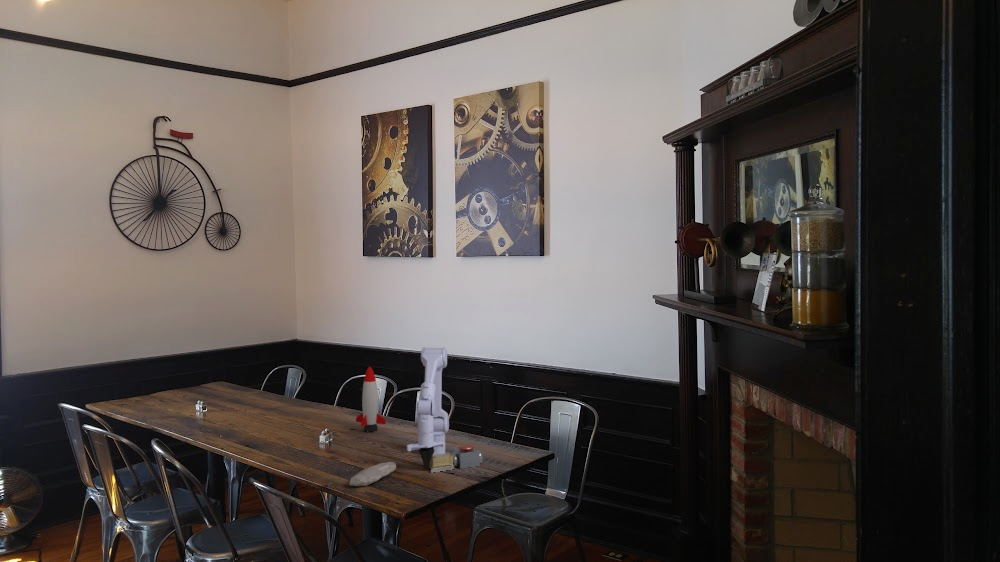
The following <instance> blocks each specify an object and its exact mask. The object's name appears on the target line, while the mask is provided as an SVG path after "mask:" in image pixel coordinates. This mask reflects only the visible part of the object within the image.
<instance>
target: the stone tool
mask: <svg viewBox="0 0 1000 562" xmlns="http://www.w3.org/2000/svg"><path fill="white" fill-rule="evenodd" d="M396 469H397V464H396V462H394V461H388V462H380V463H378V464H376V465H372V466H370V467H366V468H365V469H362V470H360V471H359V472H358V473H356V474H355V475H353V476H351V478H350V481H349V483H348V485H349V486H352V487H365V486H369V485H371V484H373V483H376V482H377V481H379V480H381V479H382V478H384V477H386V476H388V475H389V474H392V473H393V472H394V471H395V470H396Z"/></svg>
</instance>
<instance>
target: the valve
mask: <svg viewBox="0 0 1000 562" xmlns="http://www.w3.org/2000/svg"><path fill="white" fill-rule="evenodd" d="M450 454H451V453H450ZM451 455H452V456H453V466H446V467H439V468H432V469H431V470H430V474H434V473H433V472H436V473H441V472H440V471H443V472H447V471H446V470H451V471H453V470H452V469H454V470H455V467H457V466H458V467H459V468H458V467H457V468H458V469H460V470H462V469H461V468H465V469H469V468H468V467H472V468H476V467H475V466H479V467H480V466H481V464H482V463H483V461H484V455H483V452H482V450H479V449H478V448H476V447H475V445H473V444H471V443H469V444H468V443H466V444H465V443H463V444H460V445H458V447H453V448H452V454H451Z"/></svg>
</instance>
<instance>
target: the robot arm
mask: <svg viewBox="0 0 1000 562" xmlns="http://www.w3.org/2000/svg"><path fill="white" fill-rule="evenodd" d="M420 362H421V363H422V366H424V382H422V383H421V385H420V390H419V397H418V401H416V404H415V413H416V420H417V425H418V427H417V428H418V432H417V434H418V435H417V436H418V438H417V439H418V442H415V443H412V444H411V443H410V444H406V451H407V452H411V451H416V450H417V451H418V453H419V455H420V457H421V460H422V463H423V467H424V469H429V464H430V460H431V457H432V455H436V454H443V453H446V434H447V433H448V432H449V427H450V421H449V414H448V412H447V411H445V410H444V409H443V408H442V398H443V397H442V396H443V394H442V391H443V390H442V387H443V386H442V384H443V383H442V379H443V378H442V375H443V374H442V373H443V369H445V368H447V365H448V350H447V348H446V347H422V348H421V350H420Z"/></svg>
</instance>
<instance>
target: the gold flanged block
mask: <svg viewBox="0 0 1000 562" xmlns="http://www.w3.org/2000/svg"><path fill="white" fill-rule="evenodd" d="M446 466H453V456H452V455H451V452H445V453H443V454H436V455H432V457H431V460H430V464H429V468H430V469H432V468H439V467H446ZM429 468H428V469H429ZM430 469H429V470H430Z"/></svg>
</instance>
